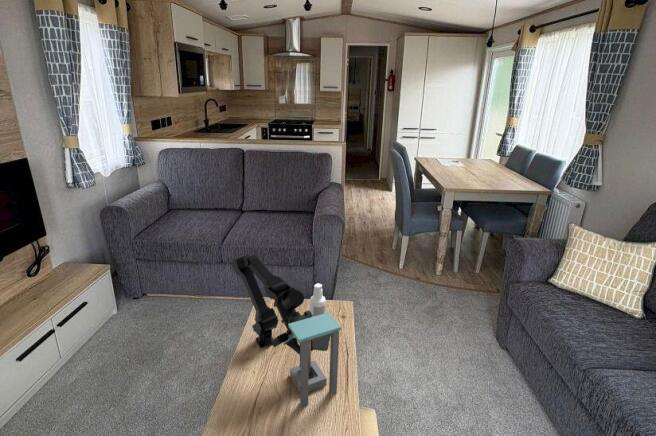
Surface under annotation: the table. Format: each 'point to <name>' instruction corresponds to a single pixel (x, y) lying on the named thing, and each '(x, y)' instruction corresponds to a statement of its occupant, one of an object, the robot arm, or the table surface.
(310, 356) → the peg
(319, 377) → the socket
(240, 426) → the table surface
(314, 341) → the phone
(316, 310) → the spray bottle
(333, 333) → the teal topped stool
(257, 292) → the robot arm
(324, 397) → the table surface
